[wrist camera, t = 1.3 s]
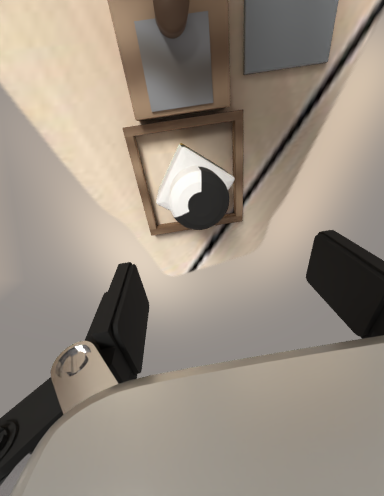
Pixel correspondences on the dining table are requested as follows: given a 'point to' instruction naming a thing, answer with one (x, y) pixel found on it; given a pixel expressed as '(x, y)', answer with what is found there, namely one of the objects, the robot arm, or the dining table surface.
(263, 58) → the slate mat
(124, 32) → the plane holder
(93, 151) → the dining table surface
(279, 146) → the dining table surface
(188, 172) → the medicine bottle
